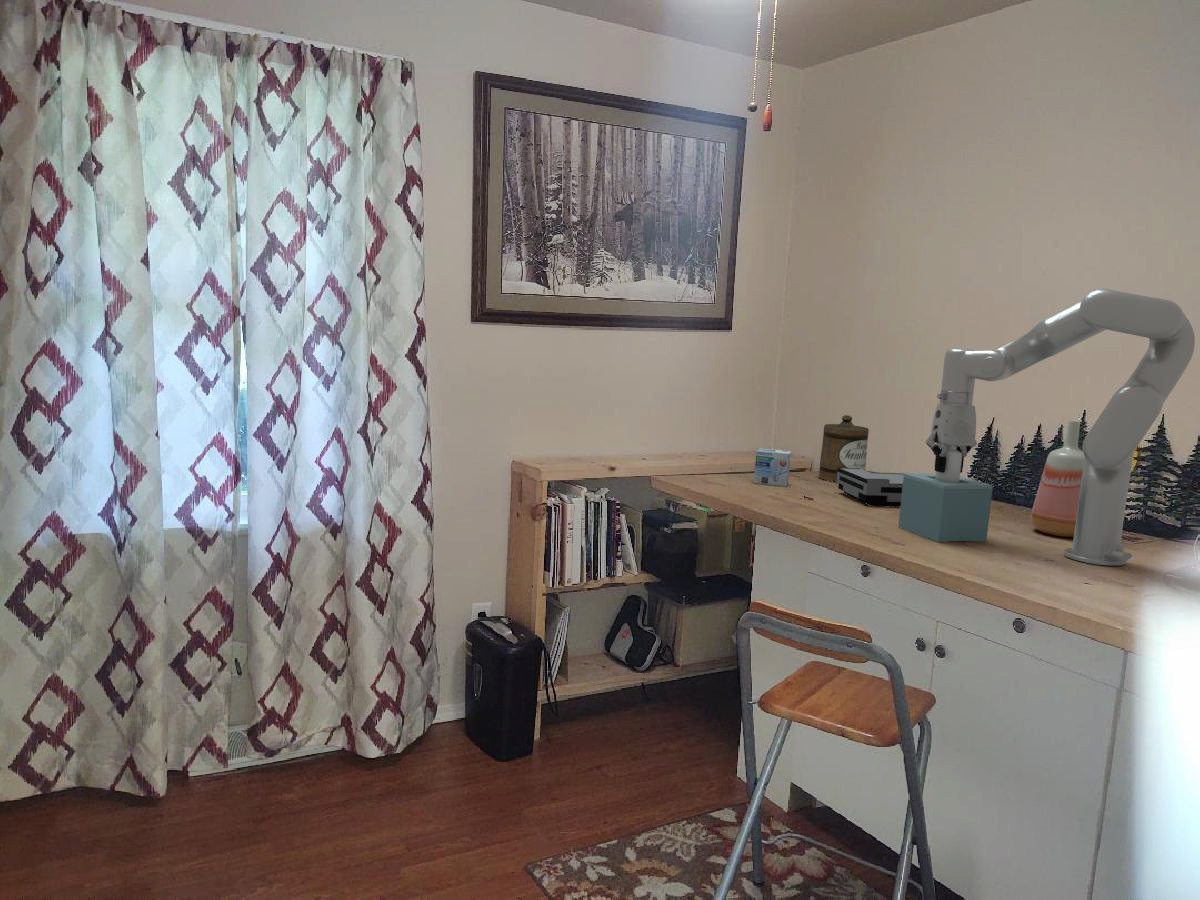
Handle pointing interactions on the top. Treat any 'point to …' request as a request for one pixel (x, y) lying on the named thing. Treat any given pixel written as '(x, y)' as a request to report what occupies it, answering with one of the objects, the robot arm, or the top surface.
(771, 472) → the light bulb box
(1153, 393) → the robot arm
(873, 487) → the game console
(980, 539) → the drop box
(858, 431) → the wooden container
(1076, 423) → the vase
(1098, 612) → the top surface
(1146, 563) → the top surface
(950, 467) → the eye dropper bottle
